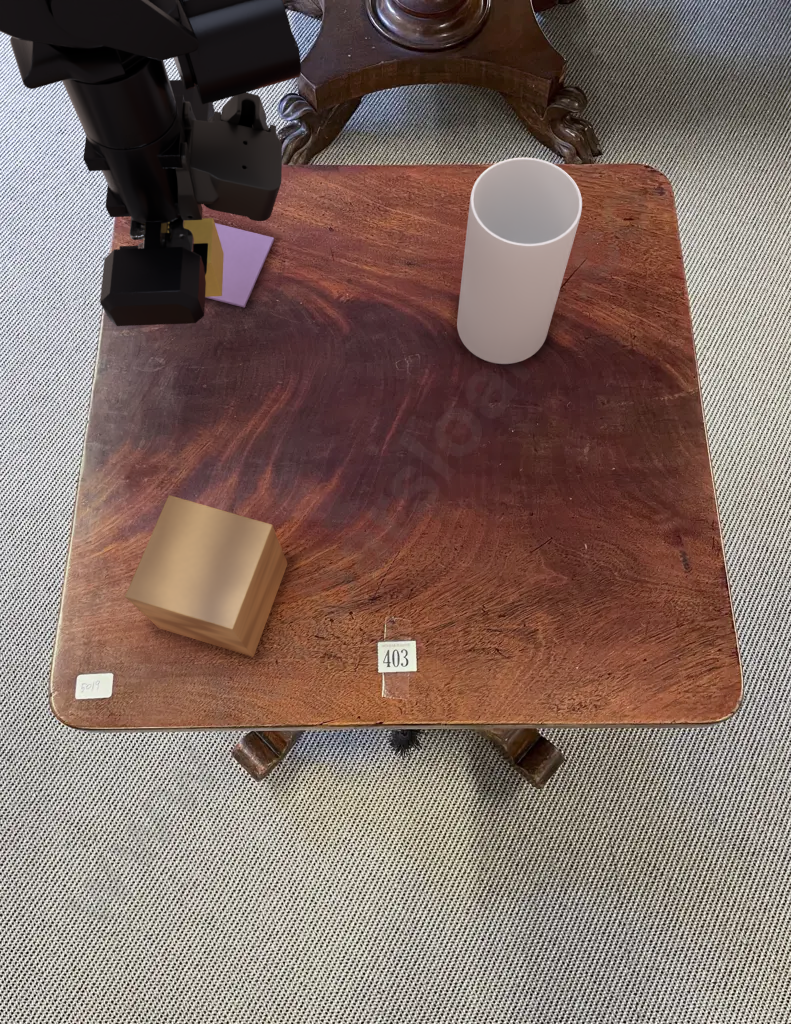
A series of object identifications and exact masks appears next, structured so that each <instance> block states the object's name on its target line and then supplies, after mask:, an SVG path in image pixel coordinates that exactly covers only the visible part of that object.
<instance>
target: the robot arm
mask: <svg viewBox="0 0 791 1024" xmlns="http://www.w3.org/2000/svg"><path fill="white" fill-rule="evenodd" d="M285 6H286V5H285V3H284V0H0V33H3V34H4V35H6V36H9V37H10V40H9V41H10V42H9V43H10V46H11V49H12V51H13V55H14V59H15V62H16V65H17V68H18V71H19V74H20V78H21V81H22V84H23V85H24V87H25V88H27V89H29V90H34V89H35V90H36V89H38V88H42V87H45V86H49V85H53V84H55V83H56V84H57V83H58V82H62V84H63V86H64V89H65V90H66V93H67V95H68V97H69V100H70V102H71V105H72V106H73V109H74V111H75V114H76V115H77V117H78V120H79V122H80V124H81V127H82V129H83V131H84V133H85V141H84V150H83V161H84V163H85V166H86V168H87V170H88V172H101V173H102V174H103V176H104V179H105V182H106V183H107V189H106V199H105V209H106V212H107V213H108V215H109V217H110V218H128V217H130V223H129V224H130V225H129V237H130V239H132V241H133V240H134V241H141V240H142V241H143V242H140V243H138V245H121V246H119V248H117V249H116V248H114V249H112V251H111V252H110V253H109V254H108V255H107V256H106V257H105V258H104V259H103V269H102V277H101V278H102V280H101V287H100V288H101V289H100V299H99V304H100V306H101V308H102V309H103V311H104V312H105V314H106V316H107V318H108V319H109V321H110V322H112V324H114V325H115V326H116V327H133V326H136V327H137V326H159V325H161V326H162V325H163V326H164V325H187V324H189V325H190V324H197V323H198V322H199V321H200V320H201V319H203V318H204V317H205V309H206V307H205V306H206V298H205V291H206V280H205V275H206V272H207V257H208V243H197V244H194V237H193V234H192V232H191V231H190V230H188V229H186V228H184V226H185V220H202V219H203V211H204V209H203V206H204V207H206V208H207V209H208V210H212V211H216V212H221V213H226V214H231V215H235V216H241V217H245V218H248V219H249V220H251V221H256V222H265V221H267V220H269V219H270V217H271V216H272V213H273V211H274V207H275V204H276V201H277V198H278V193H279V191H280V188H281V185H282V177H283V176H282V172H283V171H282V169H283V144H282V141H281V139H280V138H279V137H278V134H277V125H275V124H270V125H269V126H268V124H267V114H266V110H265V107H264V105H263V101H262V99H261V97H260V96H259V94H254V93H250V92H252V91H256V90H260V89H263V88H266V87H270V86H273V85H276V84H280V83H284V82H287V81H290V80H293V79H297V78H300V77H301V73H302V63H301V61H302V60H301V53H300V48H299V44H298V42H297V40H296V38H295V36H294V34H293V32H292V27H291V24H290V20H289V16H288V13H287V10H286V7H285ZM170 59H173V61H174V64H175V67H176V69H177V71H178V72H177V73H178V75H179V77H180V79H170V78H169V75H168V71H167V68H166V65H165V62H164V61H167V60H170ZM229 98H230V99H229ZM226 99H229V100H228V101H226V103H224V105H223V106H222V109H221V112H220V111H216V110H215V107H214V103H215V102H219V101H222V100H226ZM202 205H203V206H202ZM168 222H169V224H168ZM168 226H169V228H168ZM168 231H169V233H168Z"/></svg>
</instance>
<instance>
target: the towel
mask: <svg viewBox="0 0 791 1024" xmlns="http://www.w3.org/2000/svg"><path fill="white" fill-rule="evenodd" d="M215 226H216V229H217V232H218V236H219V239H220V242H221V246H222V249H223V252H224V260H223V284H222V296H212V297H205V299H210V300H214V301H218V302H220V303H225V304H229V305H232V306H236V307H240V308H246V305H247V303H248V301H249V299H250V296H251V294H252V292H253V289H254V288H255V285H256V283H257V281H258V278H259V276H260V273H261V271H262V269H263V266H264V265H265V262H266V260H267V257H268V256H269V253H270V251H271V248H272V246H273V243H274V241H275V237H272V236H269V235H265V234H261V233H256V232H253V231H249V230H244V229H240V228H237V227H232V226H228V225H226V224H225V225H224V224H221V223H216V222H215Z"/></svg>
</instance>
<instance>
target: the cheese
mask: <svg viewBox="0 0 791 1024" xmlns="http://www.w3.org/2000/svg"><path fill="white" fill-rule="evenodd" d="M215 223H216V222H215V220H214V218H213V217H208V218H202V220H185V226H184V228H186V229H188V230H190V231H191V232H192V234H193V237H194V244H197V243H208V257H207V272H206V275H205V280H206V291H205V297H212V296H222V284H223V260H224V252H223V249H222V246H221V242H220V239H219V236H218V232H217V229H216V226H215ZM168 224H169V222H168ZM168 228H169V226H168ZM168 233H169V231H168Z"/></svg>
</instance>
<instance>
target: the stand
mask: <svg viewBox="0 0 791 1024" xmlns="http://www.w3.org/2000/svg"><path fill="white" fill-rule="evenodd" d="M287 567H288V560H287V558H286V556H285V553H284V551H283V548H282V546H281V543H280V541H279V538H278V536H277V533H276V530H275V527H274V525H273V524H272V523H268V522H264V521H261V520H257V519H254V518H250V517H247V516H245V515H240V514H236V513H234V512H230V511H226V510H223V509H220V508H216V507H213V506H209V505H205V504H202V503H199V502H195V501H191V500H188V499H185V498H182V497H178V496H174V495H171V494H168V496H167V498H166V499H165V503H164V505H163V506H162V509H161V512H160V514H159V517H158V519H157V521H156V523H155V526H154V528H153V530H152V532H151V535H150V537H149V540H148V542H147V544H146V546H145V549H144V551H143V553H142V556H141V558H140V560H139V562H138V565H137V567H136V569H135V571H134V574H133V577H132V579H131V581H130V583H129V585H128V588H127V590H126V593H125V595H124V598H125V599H126V600H127V601H128V602H130V603H131V605H133V606H134V607H135V608H136V609H137V610H138V611H139V612H141V614H143V615H144V616H145V617H146V618H147V619H148V620H149V621H150V622H152V623H153V624H154V625H155V626H156V627H157V628H158V629H160V630H163V631H167V632H170V633H173V634H177V635H180V636H184V637H186V638H190V639H193V640H196V641H200V642H203V643H205V644H209V645H213V646H216V647H219V648H222V649H225V650H229V651H233V652H236V653H239V654H243V655H245V656H248V657H251V658H254V657H255V654H256V652H257V648H258V647H259V643H260V640H261V638H262V636H263V632H264V630H265V627H266V624H267V622H268V619H269V616H270V613H271V611H272V608H273V605H274V602H275V600H276V597H277V594H278V591H279V588H280V587H281V584H282V581H283V578H284V575H285V573H286V570H287Z"/></svg>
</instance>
